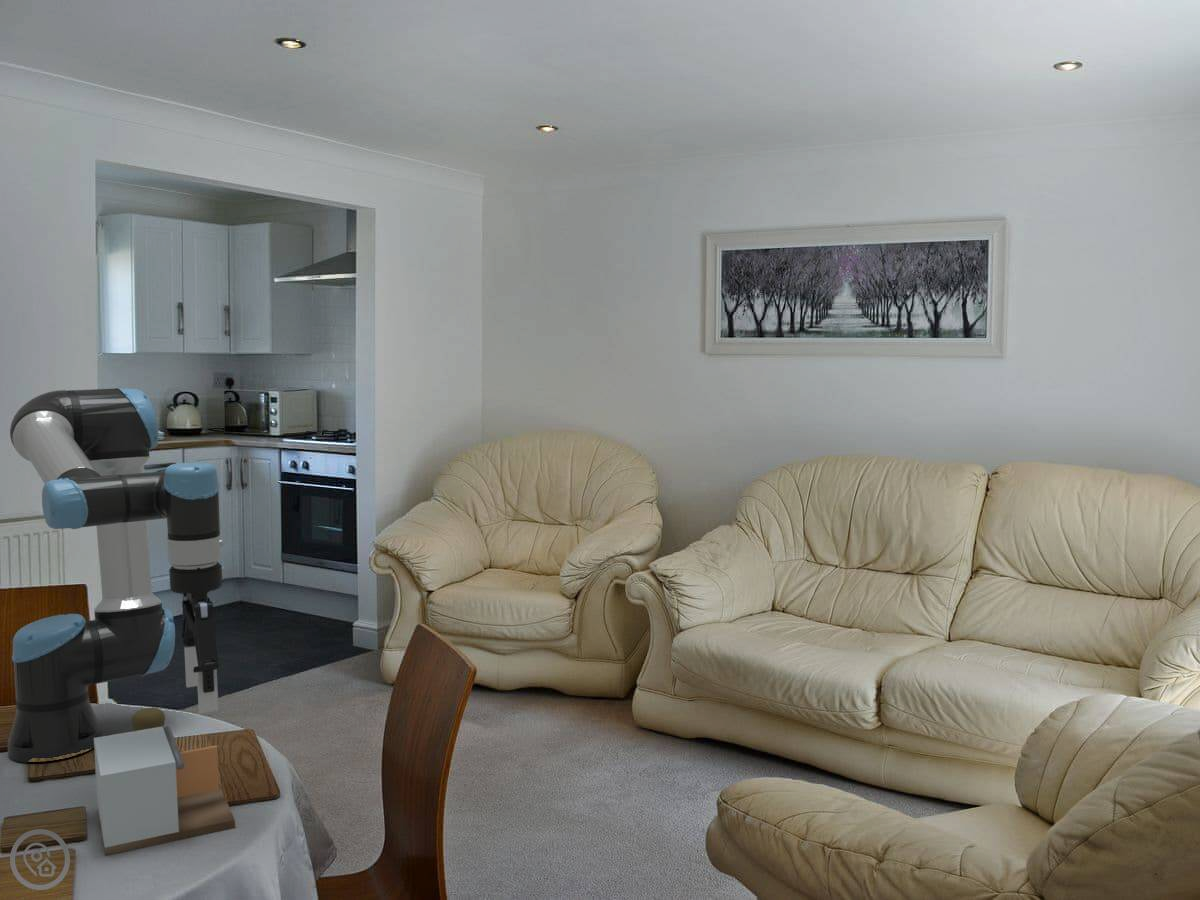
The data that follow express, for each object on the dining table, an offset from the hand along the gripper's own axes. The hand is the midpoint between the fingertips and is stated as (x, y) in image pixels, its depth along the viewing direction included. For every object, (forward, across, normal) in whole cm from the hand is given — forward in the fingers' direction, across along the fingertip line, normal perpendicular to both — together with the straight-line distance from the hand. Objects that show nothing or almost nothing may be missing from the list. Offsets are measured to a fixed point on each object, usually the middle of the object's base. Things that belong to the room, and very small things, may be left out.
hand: (201, 698), depth 164 cm
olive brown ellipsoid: (+18, +20, +6) cm, 28 cm away
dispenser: (+17, 0, +10) cm, 20 cm away
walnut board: (+18, 0, +6) cm, 19 cm away
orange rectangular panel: (+15, 0, +6) cm, 16 cm away
